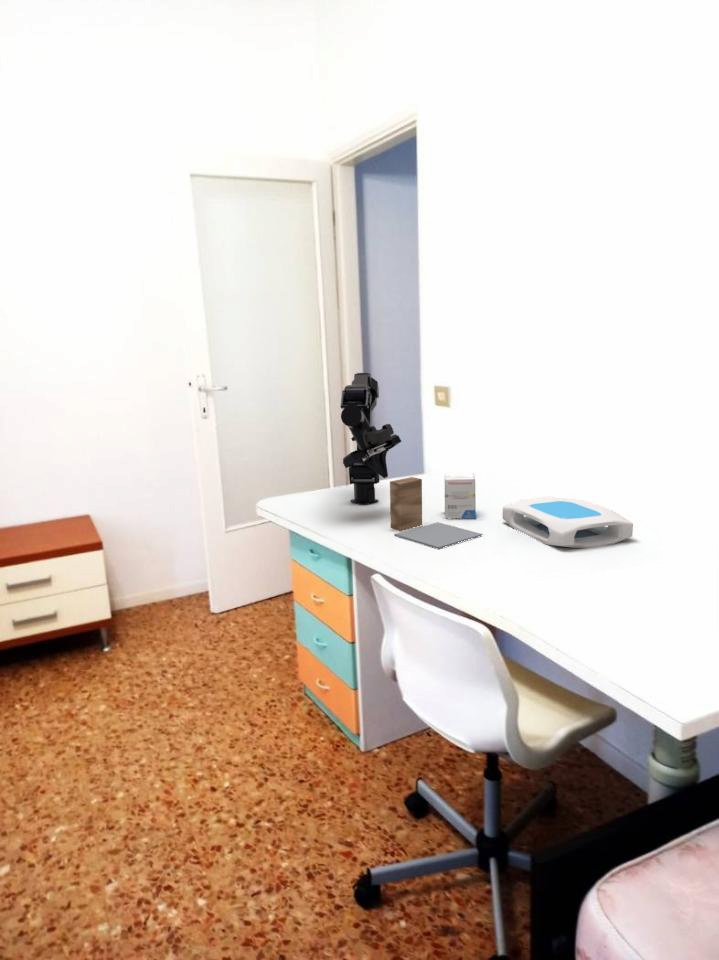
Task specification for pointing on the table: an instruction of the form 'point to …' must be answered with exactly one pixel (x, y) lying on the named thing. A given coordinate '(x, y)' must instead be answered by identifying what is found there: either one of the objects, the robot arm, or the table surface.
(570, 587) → the table surface
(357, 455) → the robot arm
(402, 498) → the walnut domino block
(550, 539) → the white blue plastic platform
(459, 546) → the table surface
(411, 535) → the mat
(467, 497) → the ink box
